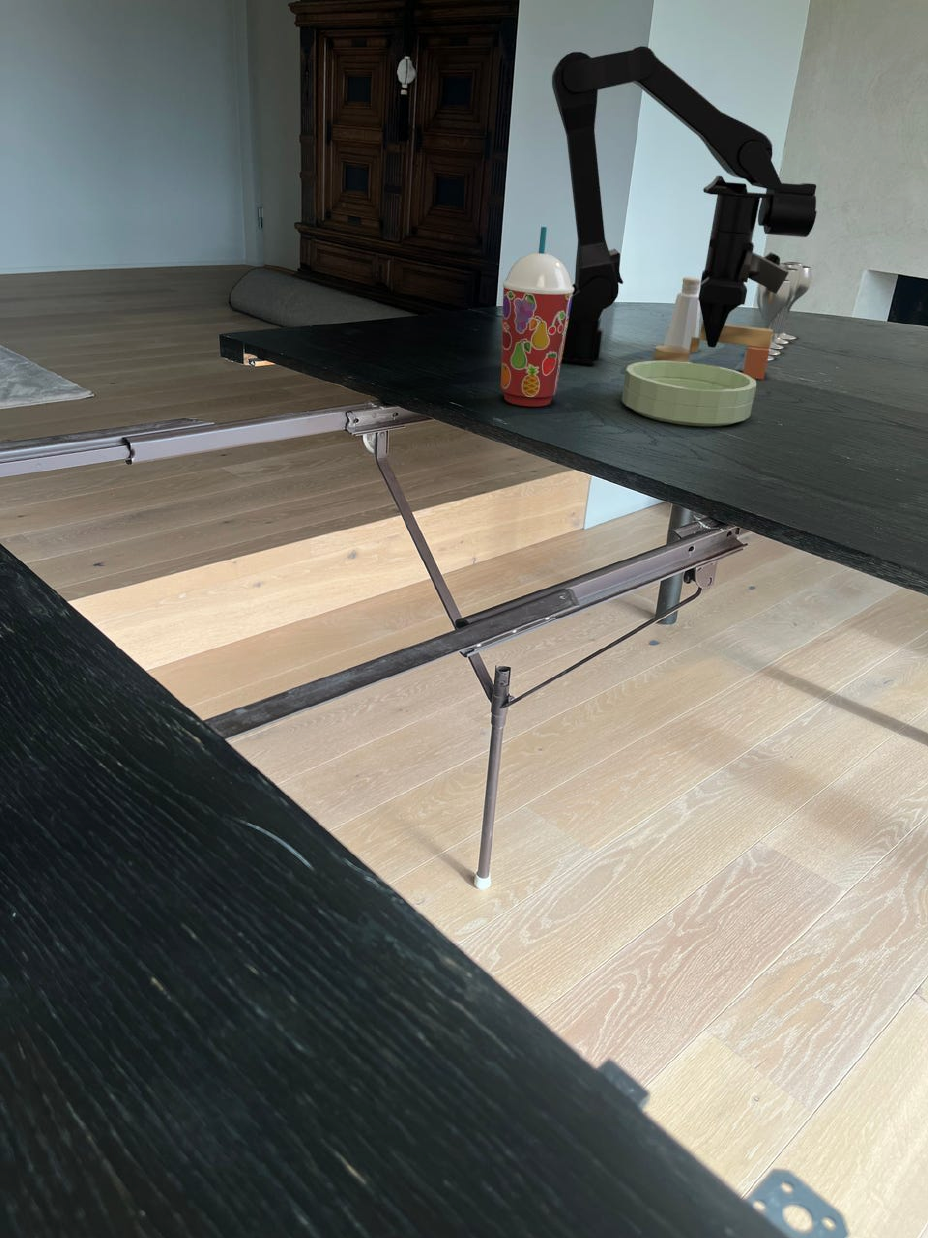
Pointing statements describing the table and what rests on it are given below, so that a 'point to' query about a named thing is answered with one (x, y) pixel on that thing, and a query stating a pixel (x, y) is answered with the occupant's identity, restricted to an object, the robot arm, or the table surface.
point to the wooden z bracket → (728, 335)
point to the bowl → (688, 393)
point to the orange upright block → (755, 362)
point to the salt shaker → (685, 315)
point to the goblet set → (783, 301)
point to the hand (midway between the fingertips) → (711, 345)
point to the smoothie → (534, 327)
